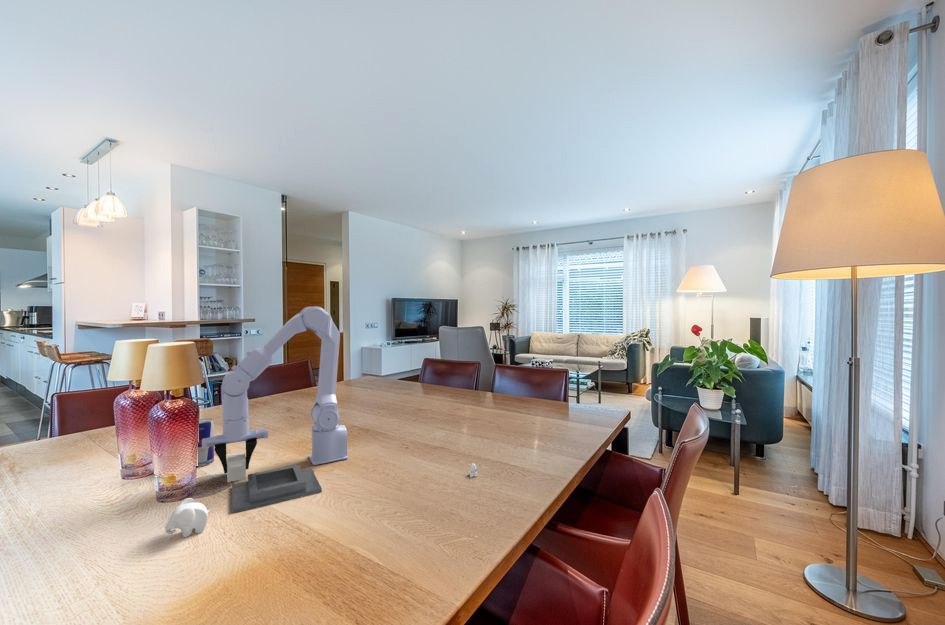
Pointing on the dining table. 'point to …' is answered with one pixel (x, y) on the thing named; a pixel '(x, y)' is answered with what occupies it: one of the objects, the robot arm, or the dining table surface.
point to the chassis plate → (273, 487)
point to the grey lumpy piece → (473, 471)
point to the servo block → (236, 467)
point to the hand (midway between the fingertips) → (236, 470)
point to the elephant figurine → (188, 518)
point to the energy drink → (204, 432)
